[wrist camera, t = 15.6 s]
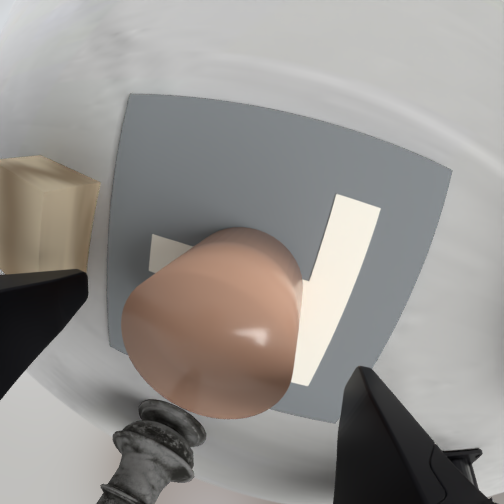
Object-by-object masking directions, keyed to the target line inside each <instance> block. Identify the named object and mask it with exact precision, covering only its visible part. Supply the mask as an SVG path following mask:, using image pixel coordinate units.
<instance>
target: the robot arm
mask: <svg viewBox="0 0 504 504" xmlns="http://www.w3.org/2000/svg"><path fill="white" fill-rule="evenodd" d="M87 298H88V277H87V274H86V273H85V272H84V271H81V270H79V269H67V270H55V271H43V272H30V273H18V274H6V275H0V400H1V399H2V398H3V396H4V395H5V394H6V393H7V391H8V390H9V389H10V388H11V386H12V385H13V384H14V383H15V382H16V380H17V379H18V378H19V377H20V376H21V375H22V373H23V372H24V371H25V370H26V369H27V368H28V367H29V365H30V364H31V363H32V362H33V361H34V360H35V359H36V358H37V357H38V355H39V354H40V353H41V352H42V351H43V350H44V349H45V348H46V347H47V346H48V345H49V343H50V342H51V341H52V340H53V339H54V338H55V337H56V336H57V335H58V334H59V333H60V332H61V331H62V330H63V328H64V327H65V326H66V325H67V324H68V322H69V321H70V320H71V318H72V317H73V316H74V315H75V313H76V312H77V311H78V310H79V309H80V307H81V306H82V305H83V304H84V302H85V301H86V300H87ZM481 455H482V450H481V449H479V450H471V451H461V452H448V453H443V452H442V451H441V449H440V448H439V447H438V446H437V445H436V444H434V441H433V440H432V439H431V438H430V436H429V435H428V434H427V433H426V432H425V430H424V429H423V428H422V427H421V426H420V424H419V423H418V422H417V421H416V420H415V419H414V417H413V416H412V415H411V414H410V413H409V412H408V410H407V409H406V408H405V407H404V406H403V405H402V403H401V402H400V401H399V400H398V399H397V397H396V396H395V395H394V394H393V393H392V392H391V391H390V389H389V388H388V387H387V386H386V385H385V384H384V382H383V381H382V380H381V379H380V378H379V377H378V375H377V374H376V373H375V372H374V371H373V370H372V369H371V368H370V367H365V366H357V367H356V369H355V370H354V372H353V374H352V375H351V377H350V379H349V380H348V382H347V384H346V386H345V388H344V393H343V401H342V408H341V416H340V422H339V429H338V440H337V461H336V477H335V489H334V500H333V504H497V503H495V501H494V499H493V498H490V499H488V498H487V497H486V496H485V495H484V494H483V493H482V492H481V491H480V490H479V489H478V485H477V481H476V478H475V474H474V471H473V467H472V463H473V462H474V461H475V460H477V459H478V458H479V457H480V456H481Z"/></svg>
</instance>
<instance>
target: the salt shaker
mask: <svg viewBox="0 0 504 504" xmlns="http://www.w3.org/2000/svg"><path fill="white" fill-rule="evenodd" d="M139 415H140V417H141V419H142V421H136V422H133V423H131V424H130V425H128V426H126V427H125V428H124V429H123V430H122V431H116V432H115V433H114V434H113V442H114V444H115V446H116V448H117V449H118V450H119V452H120V453H121V454H122V459H121V462H120V465H119V468H118V469H117V471H116V473H115V474H114V475H113V477H112V479H111V480H110V481H109V483H108V484H106V485H105V484H102V485H101V489H102V490H103V492H104V493H103V494H102V496H101V498H100V499H99V501H98V502H97V504H155V502H156V500H157V498H158V496H159V494H160V492H161V491H162V490H163V488H164V487H165V486H166V485H167V484H169V482H178V483H185V482H189V481H191V480H192V479H193V478H194V472H193V470H192V468H193V466H194V463H193V451H192V450H191V448H190V447H195V446H199V445H201V444H203V443H204V441H205V440H206V432H205V430H204V428H203V427H202V425H201V424H200V423H199V422H198V421H197V420H196V419H195V418H194V417H193V416H192V415H190V414H189V413H187V412H186V411H184V410H183V409H181V408H179V407H177V406H175V405H172V404H169V403H167V402H164V401H159V400H147V401H144V402H143V403H142V404H141V405H140V406H139Z"/></svg>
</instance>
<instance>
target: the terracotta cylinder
mask: <svg viewBox="0 0 504 504" xmlns="http://www.w3.org/2000/svg"><path fill="white" fill-rule="evenodd" d="M302 295H303V280H302V275H301V271H300V268H299V266H298V264H297V262H296V260H295V258H294V257H293V255H292V254H291V252H290V251H289V250H288V249H287V248H286V247H285V246H284V245H283V244H282V243H281V242H280V241H278V240H277V239H276V238H274V237H273V236H271V235H269V234H267V233H265V232H262V231H259V230H256V229H252V228H245V227H232V228H227V229H223V230H220V231H217V232H215V233H213V234H211V235H210V236H208V237H207V238H205V239H204V240H202V241H201V242H199V243H198V244H197V245H195V246H194V247H192V248H191V249H189V250H188V251H186V252H185V253H183V254H182V255H181V256H179V257H178V258H176V259H175V260H173V261H172V262H171V263H169V264H168V265H166V266H165V267H164V268H162V269H161V270H159V271H158V272H157V273H155V274H154V275H152V276H151V277H150V278H148V279H147V280H145V281H144V282H143V283H141V284H140V285H139V286H137V287H136V288H135V289H134V290H133V292H132V293H131V294H130V296H129V297H128V299H127V300H126V303H125V305H124V308H123V312H122V317H121V331H122V338H123V342H124V345H125V348H126V351H127V353H128V356H129V358H130V360H131V362H132V363H133V365H134V367H135V368H136V370H137V371H138V372H139V374H140V375H141V376H142V377H143V379H144V380H145V381H146V382H147V383H148V384H149V385H150V386H151V387H152V388H153V389H154V390H155V391H157V392H158V393H159V394H160V395H162V396H163V397H164V398H166V399H167V400H169V401H170V402H172V403H174V404H176V405H177V406H179V407H181V408H183V409H186V410H188V411H190V412H193V413H196V414H199V415H203V416H207V417H212V418H218V419H240V418H247V417H251V416H255V415H257V414H260V413H262V412H264V411H266V410H268V409H270V408H271V407H273V406H274V405H275V404H276V403H278V402H279V401H280V399H281V398H282V397H283V396H284V395H285V393H286V391H287V390H288V388H289V385H290V383H291V380H292V375H293V369H294V362H295V354H296V347H297V339H298V331H299V323H300V314H301V305H302Z"/></svg>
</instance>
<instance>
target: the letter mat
mask: <svg viewBox="0 0 504 504" xmlns="http://www.w3.org/2000/svg"><path fill="white" fill-rule="evenodd" d="M451 175H452V170H451V169H449V168H447V167H445V166H443V165H441V164H438V163H436V162H434V161H432V160H430V159H427V158H425V157H423V156H421V155H418V154H416V153H414V152H411V151H409V150H406V149H404V148H401V147H399V146H396V145H394V144H391V143H388V142H386V141H383V140H380V139H377V138H375V137H372V136H369V135H366V134H363V133H360V132H357V131H354V130H351V129H348V128H344V127H341V126H338V125H334V124H331V123H327V122H324V121H320V120H316V119H313V118H309V117H305V116H301V115H296V114H292V113H288V112H283V111H279V110H274V109H269V108H264V107H259V106H253V105H248V104H242V103H235V102H229V101H221V100H214V99H206V98H196V97H186V96H173V95H157V94H130V96H129V100H128V104H127V109H126V113H125V117H124V122H123V127H122V132H121V137H120V142H119V148H118V154H117V160H116V166H115V173H114V181H113V189H112V198H111V208H110V219H109V233H108V254H107V307H108V328H109V342H110V346H111V347H113V348H115V349H116V350H118V351H120V352H122V353H124V354H126V355H128V353H127V351H126V348H125V345H124V342H123V338H122V331H121V317H122V312H123V308H124V305H125V303H126V300H127V299H128V297H129V296H130V294H131V293H132V292H133V290H134V289H135V288H136V287H137V286H139V285H140V284H141V283H143V282H144V281H145V280H147V279H148V278H150V277H151V276H152V275H154V274H155V273H157V272H158V271H159V270H161V269H162V268H164V267H165V266H166V265H168V264H169V263H171V262H172V261H173V260H175V259H176V258H178V257H179V256H181V255H182V254H183V253H185V252H186V251H188V250H189V249H191V248H192V247H194V246H195V245H197V244H198V243H199V242H201V241H202V240H204V239H205V238H207V237H208V236H210V235H211V234H213V233H215V232H217V231H220V230H223V229H227V228H232V227H245V228H252V229H256V230H259V231H262V232H265V233H267V234H269V235H271V236H273V237H274V238H276V239H277V240H278V241H280V242H281V243H282V244H283V245H284V246H285V247H286V248H287V249H288V250H289V251H290V252H291V254H292V255H293V257H294V258H295V260H296V262H297V264H298V266H299V268H300V271H301V275H302V280H303V295H302V305H301V314H300V323H299V331H298V339H297V347H296V354H295V362H294V369H293V375H292V380H291V383H290V385H289V388H288V390H287V391H286V393H285V395H284V396H283V397H282V398H281V399H280V401H279V402H278V403H276V404H275V405H274V406H273V407H271V408H270V409H272V410H275V411H279V412H283V413H287V414H291V415H296V416H300V417H304V418H309V419H314V420H319V421H324V422H329V423H336V422H337V421H338V419H339V418H340V416H341V408H342V401H343V393H344V388H345V386H346V384H347V382H348V380H349V379H350V377H351V375H352V374H353V372H354V370H355V369H356V367H357V366H365V367H370V368H371V369H372V368H373V366H374V364H375V363H376V361H377V359H378V357H379V356H380V354H381V352H382V350H383V349H384V347H385V345H386V343H387V341H388V339H389V338H390V336H391V334H392V332H393V330H394V328H395V326H396V324H397V322H398V320H399V318H400V316H401V314H402V312H403V310H404V308H405V306H406V303H407V301H408V299H409V297H410V295H411V292H412V290H413V288H414V286H415V283H416V281H417V279H418V276H419V274H420V271H421V269H422V266H423V264H424V261H425V259H426V256H427V253H428V251H429V248H430V245H431V242H432V240H433V237H434V234H435V231H436V228H437V225H438V222H439V218H440V215H441V212H442V208H443V205H444V202H445V198H446V194H447V191H448V187H449V183H450V179H451Z"/></svg>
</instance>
